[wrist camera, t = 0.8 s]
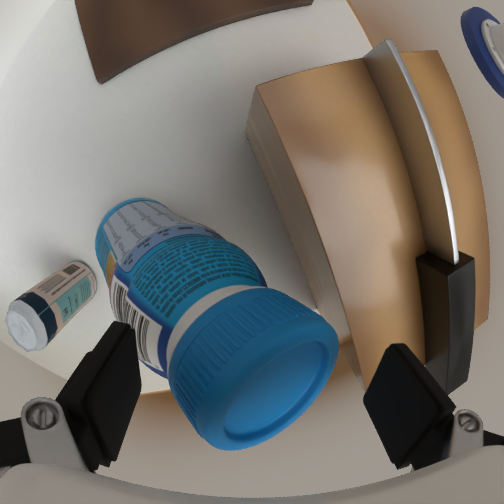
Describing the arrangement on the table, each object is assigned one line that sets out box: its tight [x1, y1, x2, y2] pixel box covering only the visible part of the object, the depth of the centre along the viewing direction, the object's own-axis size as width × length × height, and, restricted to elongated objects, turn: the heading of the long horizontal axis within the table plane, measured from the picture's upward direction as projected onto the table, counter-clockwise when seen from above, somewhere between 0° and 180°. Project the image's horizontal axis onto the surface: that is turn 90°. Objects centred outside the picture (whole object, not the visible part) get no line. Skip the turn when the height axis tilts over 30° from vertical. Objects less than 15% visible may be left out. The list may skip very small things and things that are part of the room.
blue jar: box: [95, 198, 339, 450], centre depth 17 cm, size 8×8×20 cm
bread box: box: [245, 50, 490, 393], centre depth 20 cm, size 12×20×14 cm, turn 23°
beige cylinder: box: [5, 262, 96, 352], centre depth 21 cm, size 5×5×12 cm
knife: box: [362, 39, 476, 395], centre depth 12 cm, size 21×2×3 cm, turn 23°
